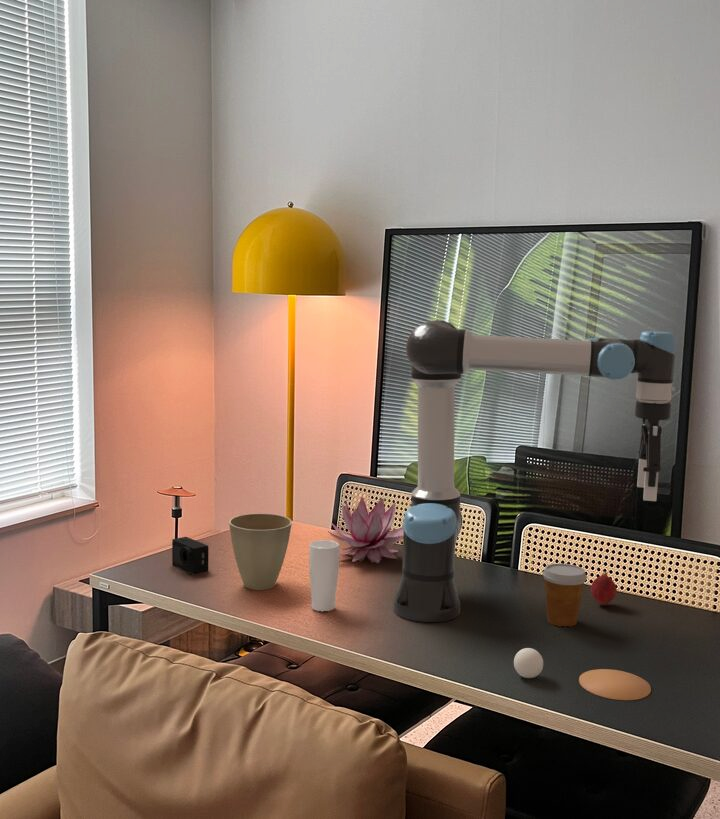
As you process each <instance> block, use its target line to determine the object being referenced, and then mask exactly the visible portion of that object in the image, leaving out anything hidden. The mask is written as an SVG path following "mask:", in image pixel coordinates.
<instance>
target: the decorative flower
mask: <svg viewBox="0 0 720 819" xmlns="http://www.w3.org/2000/svg"><path fill="white" fill-rule="evenodd" d="M396 504H397V503H396V502H393V504H392V505H391V506H390V507H389V508H388V509H387V511H386V506H385V501H384V498H380V499H379V500H378V502H376V504H375V505H374V506H373V508H372V509H371V510H370V512H369V510H368V508H367V504H366V502H365V499H364V497H363V496H362V497H360V499H359V502H358V504H357V507H356V508H354V509H353V511H352V513H351V510H350V508H349V505H348V501H347V500H345V506H344V504H341V508H342V509H341V510H342V511H341V512H342V518H343V521H344V524H345V526H346V529H347V530H348V532H349V533H350V534H348V533H347V532H345V531H343V530H342V529H340V528H339V527H337V526H336V525H335V524H334V523H333V522H330V523H331V525H332V527H333V528H334V530H336V532H337V533H338V534H340V535H342V536H343V537H341V536H339V535H336V534H334V533H332V532H330V531H328V530H327V533H328V534H329V535H330V536H331V537H333V538H335V539H336V540H338V541H340V542H344V543H347V544H348V545H349V546H350V547H346V548H344V547H343V548H341V547H339V550H343V551H346V552H343V553H340V554H339V557H343V556H347V555H349V554H352V553H354V554H353V557H352V558H353V559H352V561H351V562H357V561H360V562H359V563H361V562H362V561H363V560H364V559H366V557H367V559H368V560H369V561H370V563H372V564H373V563H377V564H379V563H380V561H383V559H382V558H383V557H385V558H387V559H398V557H397V556H396V555H395V554H394V553H398V549H397V550H396V549H392V548H390V547H388V546H391V545H395V544H396V543H398V542H400V541H403V533H404V530H403V526H402V527H399V528H395V529H393V530H391V529H392V526H393V523H394V518H395V514H396V506H397V505H396ZM347 550H348V551H347Z"/></svg>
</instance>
